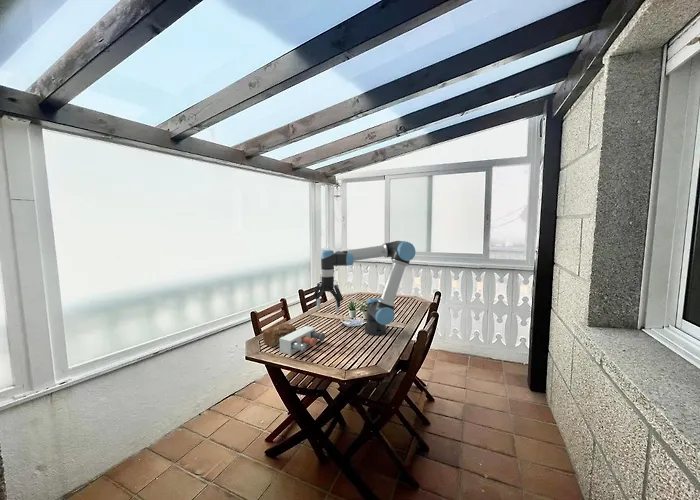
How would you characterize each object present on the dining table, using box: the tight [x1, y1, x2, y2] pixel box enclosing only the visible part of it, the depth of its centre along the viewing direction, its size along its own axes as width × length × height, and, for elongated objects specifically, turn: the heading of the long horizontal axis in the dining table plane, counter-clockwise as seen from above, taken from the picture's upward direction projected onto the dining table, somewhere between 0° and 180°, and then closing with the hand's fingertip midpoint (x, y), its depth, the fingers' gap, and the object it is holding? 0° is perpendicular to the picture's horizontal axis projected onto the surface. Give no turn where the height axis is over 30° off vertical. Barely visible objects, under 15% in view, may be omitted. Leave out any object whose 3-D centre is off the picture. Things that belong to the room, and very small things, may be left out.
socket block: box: [279, 325, 317, 356], centre depth 174 cm, size 8×24×8 cm, turn 150°
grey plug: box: [311, 332, 326, 342], centre depth 179 cm, size 11×5×5 cm, turn 61°
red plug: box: [301, 337, 317, 347], centre depth 171 cm, size 11×5×5 cm, turn 61°
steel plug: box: [291, 342, 308, 353], centre depth 163 cm, size 11×5×5 cm, turn 61°
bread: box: [262, 323, 297, 348], centre depth 181 cm, size 19×11×10 cm, turn 138°
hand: (327, 310), depth 174 cm, fingers open, 13 cm apart
